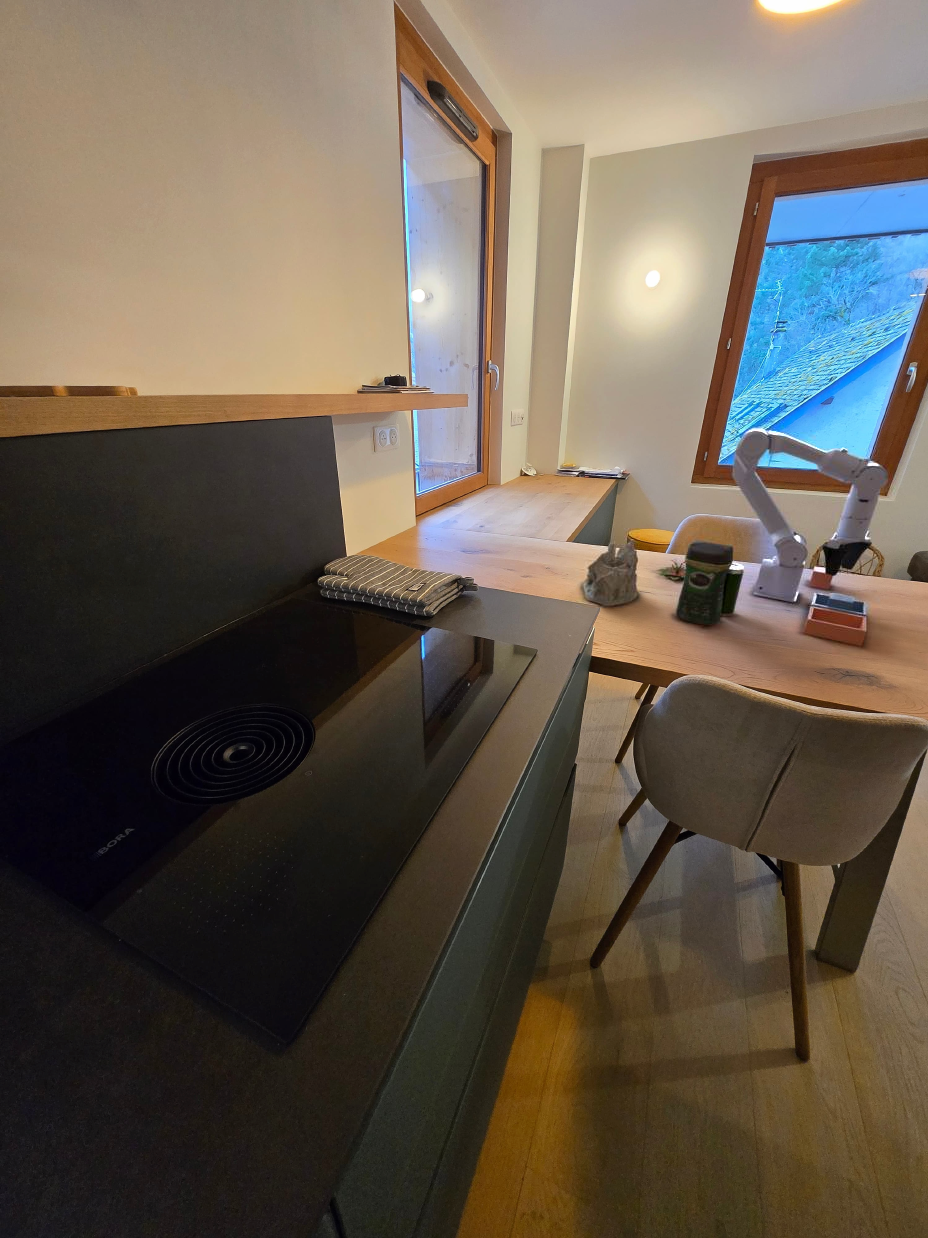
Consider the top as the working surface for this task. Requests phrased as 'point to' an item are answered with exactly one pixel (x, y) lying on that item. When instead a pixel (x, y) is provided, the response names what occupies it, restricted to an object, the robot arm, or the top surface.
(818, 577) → the terracotta block
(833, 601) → the blue block
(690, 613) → the coffee jar
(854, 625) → the terracotta bin
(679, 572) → the lily flower
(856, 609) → the blue bin
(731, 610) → the beer can
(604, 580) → the grey jagged hollow piece
